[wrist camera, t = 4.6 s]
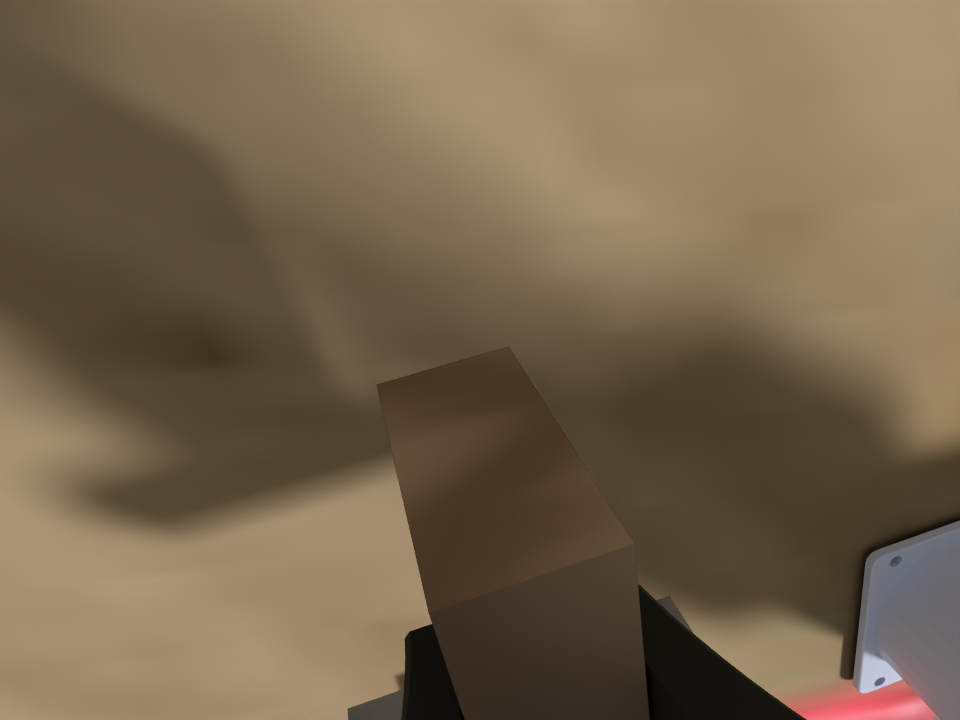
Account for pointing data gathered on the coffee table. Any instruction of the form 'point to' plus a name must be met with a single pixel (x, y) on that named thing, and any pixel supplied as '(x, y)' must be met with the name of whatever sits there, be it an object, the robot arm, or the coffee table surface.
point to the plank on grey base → (513, 551)
